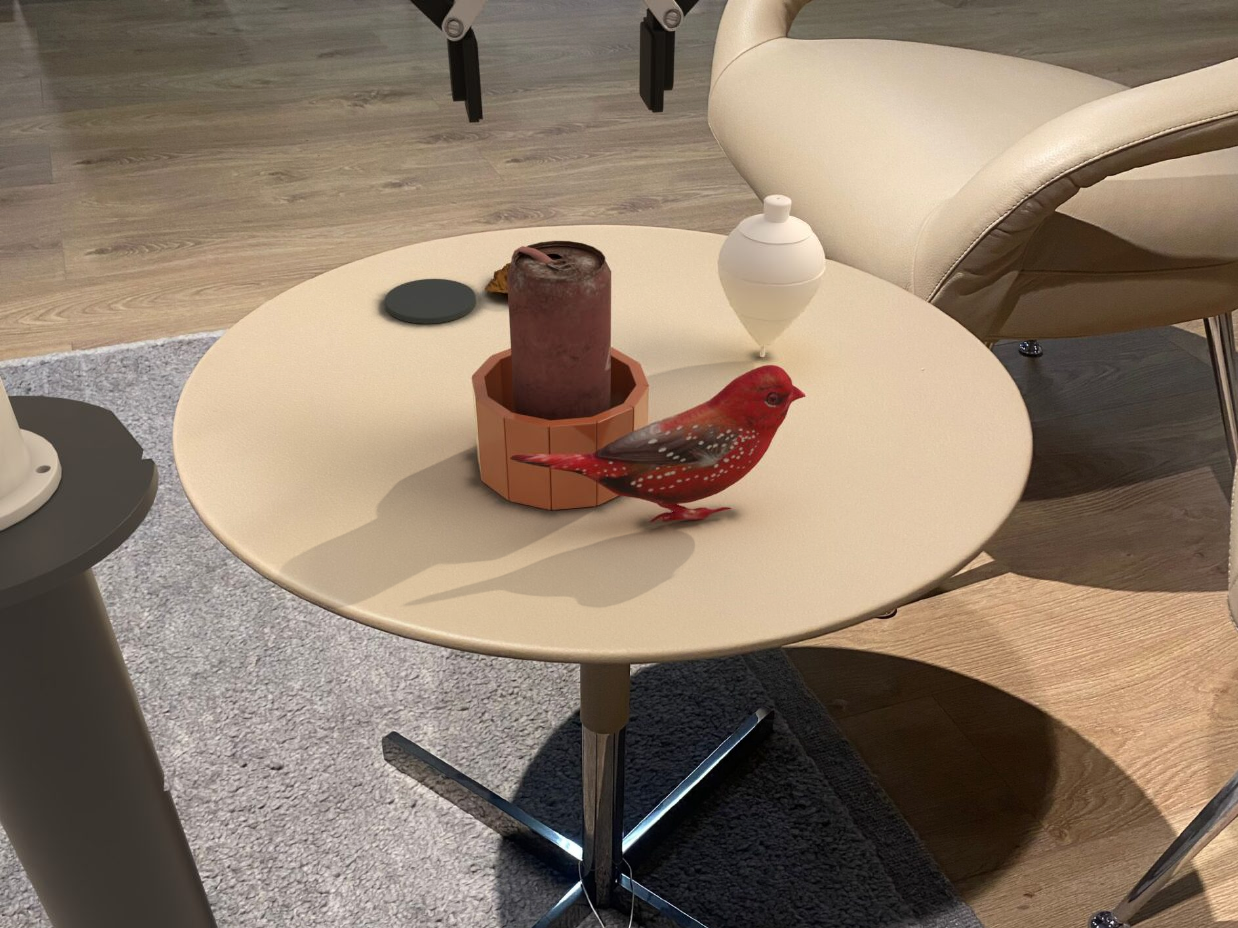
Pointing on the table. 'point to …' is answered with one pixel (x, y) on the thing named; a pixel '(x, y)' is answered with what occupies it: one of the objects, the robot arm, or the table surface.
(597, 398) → the can
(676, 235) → the table surface
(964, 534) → the table surface
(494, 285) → the leaf
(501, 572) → the table surface
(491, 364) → the pot
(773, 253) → the spinning top
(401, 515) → the table surface
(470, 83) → the robot arm
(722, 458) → the decorative bird figurine
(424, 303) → the coaster
